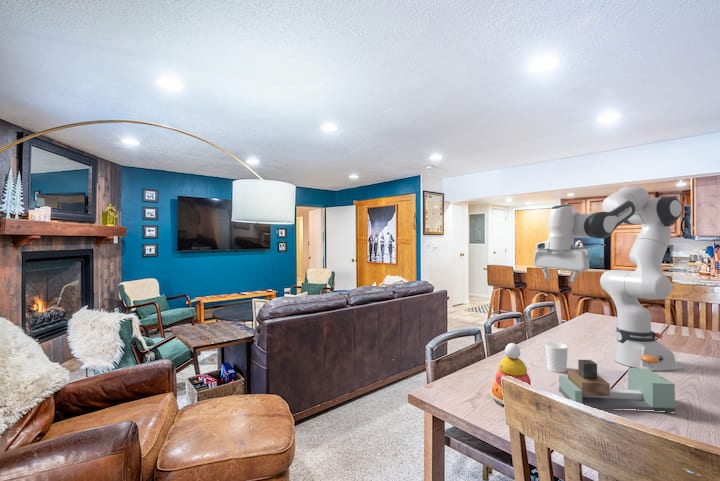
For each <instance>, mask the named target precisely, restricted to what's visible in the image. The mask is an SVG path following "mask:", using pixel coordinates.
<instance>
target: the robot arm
mask: <svg viewBox="0 0 720 481" xmlns="http://www.w3.org/2000/svg"><path fill="white" fill-rule="evenodd" d="M649 196H650V195H649V193H648V191H647V190H646V189H645V188H644V187H640V186H630V187H627V188H622V189H620V190H617V191H615V192H613V193H611V194H610V195H607V197H606V198H604V199H603V202H602V204H601V209H602V211H599V212H598V211H597V212H589V213H588V212H587V213H581V212H578V211H577V210H575V209H574V206H573V205H572V204H568V203H567V204H561V205H560V204H559V205H555V206H552V207H551V208H550V211H549V212H548V213H549V214H548V224H547V226H548V227H547V228H548V231H549V232H548V236H547V240H546V241H545V240H544V241H543V242H539V243H536V244H535V251H534V253H533V254H534V255H533V265H534V267H535V268H541V269H542V272H543V274H544V279H545V280H551V279H552V277H551V276H552V275H551V274H550V273H549V270H550V269H557V270H558V269H559V270H566V271H567V270H568V271H571V273H572V275H571V276H569V277H568V282H570V283H576V277H577V276H578V275H579V273H580V272H587V271H588V270H590V259H589V257H590V256H589V255H590V250H589V249H588V248H587V247H586V246H585V245H584V246H583V245H581V246H579V245H574V241H575V238H578V239H579V238H580V239H586V238H587V239H588V238H589V239H602V240H603V239H607V238H608V237H610V236H611V235H612V234H613V232H615V230H616V229H617V228H618V227H619V226H620V225H622V224H623V223H624V224H626V225H641V230H640V231H639V232H638V234H637V236H636V237H635V239H634V242H633V245H632V246H631V249H630V251H629V254H628V258H629V260H630V262H631V263H632V264H634V265H635V266H636V268H635V270H626V269H625V270H624V269H613V270H606V271H605V272H603V273H602V274H601V276H600V277H599V284H600V287H601V288H602V290H603V291H605V292H606V293H607V294H608V296H610V298H611V300H612V301H613V303H614V306H615V309H616V316H617V317H616V318H617V327H616V331H615V332H616V340H617V341H616V342H617V343H616V349H615V353H614V356H613V360H614V361H615V362H616V363H619V364H621V365H624V366H628V367H630V368H643V369H649V370H651V371H653V372H654V371H655V372H656V371H659V372H660V371H682V370H684V366H683V365H682V364H681V363H679V362H677V361H676V358H675V354H674V352H673V351H672V350H671V349H670V348H668V347H666V346H665V345H663V343H661V342H660V341H659V340H660V339H663V337H664V336H663V334H662V333H660V332H654V331H653V330H652V315H651V312H650V311H649V309H648V308H646V307H645V306H643V305H642V304H641V303H640V301H639V300H638V299H645V300H666V298H668V297H669V296H670V295H671V294H672V292H673V284H672V283H673V282H672V280H670V278H669V277H668V276H666V275H665V274H664V272H663V269H662V264H663V260H664V257H665V254H666V252H667V249H668V247H669V244H670V240H671V234H672V229H671V226H673V225H674V224H675V223H676V222H677V221H678V220H679V218H681V216H682V213H683V205H682V202H681V200H679V199H678V198H677V197H676V196H674V197H673V196H663V197H649ZM657 339H659V340H657ZM641 355H651V356H655V357H658V358H659V363H653V368H649V367H647V362H644V361H642V360H641Z"/></svg>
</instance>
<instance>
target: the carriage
mask: <svg viewBox="0 0 720 481" xmlns="http://www.w3.org/2000/svg"><path fill="white" fill-rule="evenodd" d="M577 361H578V362H577V363H578V366H577V367H578V370H569V369H568V370H567V378H568V379H569V380H571V381H572V382H573V383H574V384H575V385H576V386H577V387H578V388H579V389H580V390H581V391H582V395H592V396H610V389H611V387H610V383H609V382H608V381H607V380H605V379H604V378H603V377H601V376H600V375H598V363H596V362H595V361H593V360H592V359H578V360H577Z"/></svg>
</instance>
